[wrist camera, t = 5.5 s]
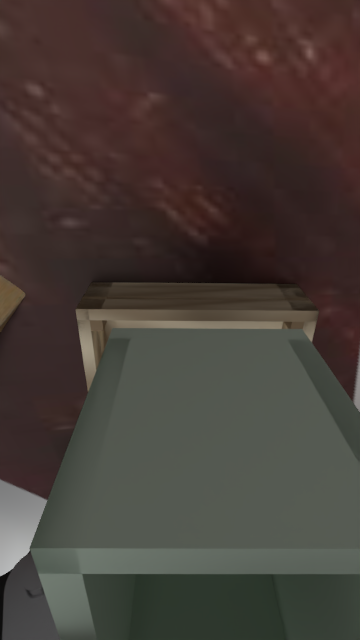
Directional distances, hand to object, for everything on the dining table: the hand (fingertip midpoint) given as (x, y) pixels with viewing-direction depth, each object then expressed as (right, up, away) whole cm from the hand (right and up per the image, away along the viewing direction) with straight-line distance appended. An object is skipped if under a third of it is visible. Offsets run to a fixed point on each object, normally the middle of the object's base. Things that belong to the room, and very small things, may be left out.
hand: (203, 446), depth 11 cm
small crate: (0, 0, +1) cm, 1 cm away
